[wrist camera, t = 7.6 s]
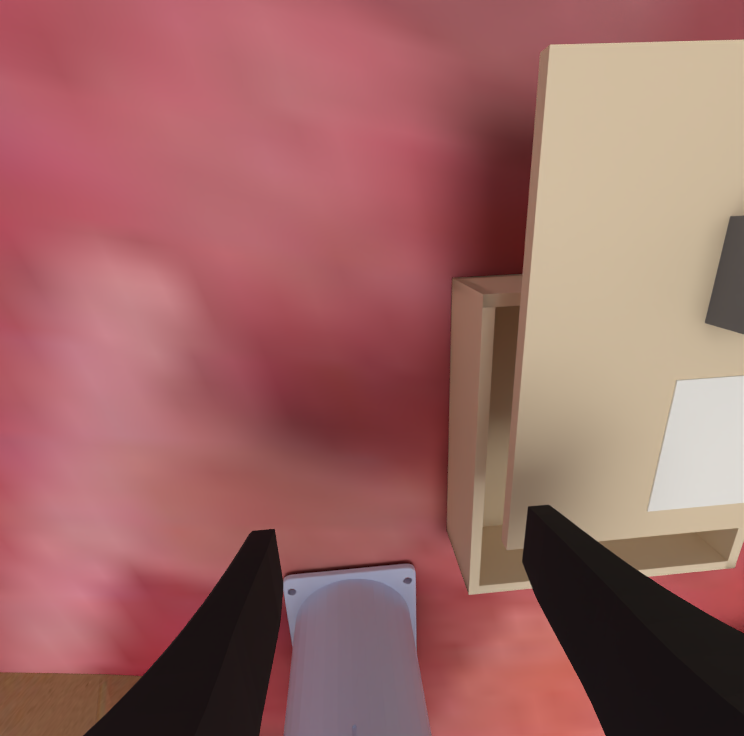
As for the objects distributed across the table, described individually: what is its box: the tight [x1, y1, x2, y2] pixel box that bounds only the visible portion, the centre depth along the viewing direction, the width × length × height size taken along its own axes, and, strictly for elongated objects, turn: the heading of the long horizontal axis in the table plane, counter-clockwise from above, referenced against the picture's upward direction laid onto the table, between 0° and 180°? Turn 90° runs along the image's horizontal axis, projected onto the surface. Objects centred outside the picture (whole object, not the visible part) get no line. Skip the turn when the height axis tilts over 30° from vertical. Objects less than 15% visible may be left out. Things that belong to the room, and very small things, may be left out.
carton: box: [447, 274, 744, 595], centre depth 21 cm, size 15×14×4 cm
